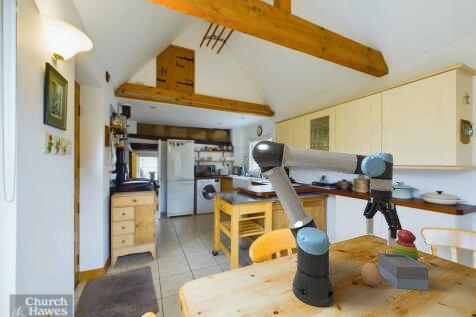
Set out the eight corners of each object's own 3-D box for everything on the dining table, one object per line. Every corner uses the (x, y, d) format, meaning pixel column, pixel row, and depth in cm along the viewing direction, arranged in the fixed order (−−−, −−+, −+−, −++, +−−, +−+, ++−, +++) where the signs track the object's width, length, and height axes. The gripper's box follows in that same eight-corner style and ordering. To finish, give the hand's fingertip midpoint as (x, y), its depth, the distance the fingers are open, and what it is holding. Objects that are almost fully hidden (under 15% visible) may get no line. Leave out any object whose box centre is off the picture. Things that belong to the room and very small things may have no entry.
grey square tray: (396, 288, 80) (396, 266, 80) (377, 272, 92) (377, 252, 92) (428, 290, 79) (428, 267, 79) (404, 273, 91) (404, 253, 91)
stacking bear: (426, 273, 92) (425, 234, 92) (401, 270, 94) (400, 232, 94) (410, 261, 102) (410, 227, 102) (388, 259, 104) (388, 225, 104)
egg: (383, 291, 78) (383, 268, 78) (364, 288, 80) (364, 265, 80) (377, 281, 85) (377, 260, 85) (359, 278, 87) (359, 258, 87)
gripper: (415, 194, 72) (413, 253, 72) (371, 186, 97) (370, 229, 96) (394, 193, 72) (392, 252, 72) (355, 185, 97) (354, 228, 97)
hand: (379, 239), depth 84 cm, fingers open, 13 cm apart
